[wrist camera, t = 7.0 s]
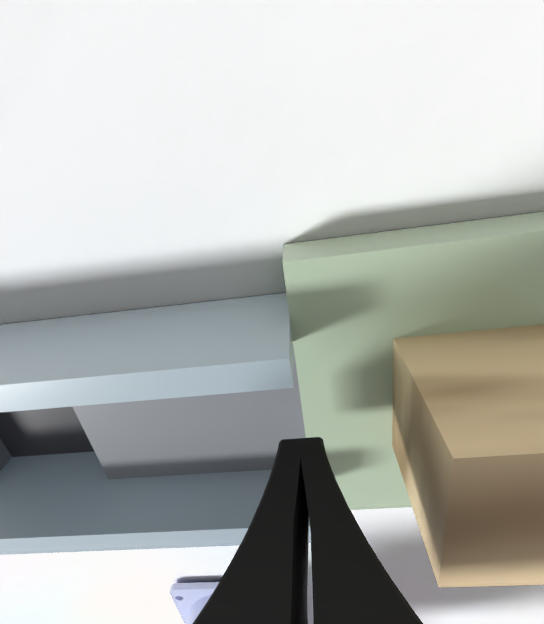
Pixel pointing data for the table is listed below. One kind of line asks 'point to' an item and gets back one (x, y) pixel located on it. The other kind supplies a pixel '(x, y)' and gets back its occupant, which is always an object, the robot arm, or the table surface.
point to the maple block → (474, 451)
